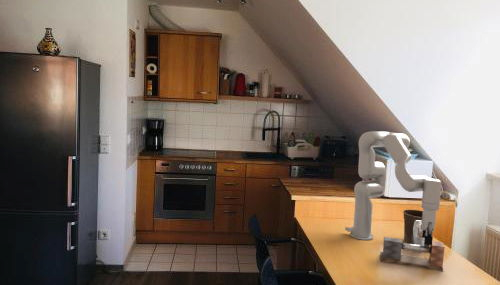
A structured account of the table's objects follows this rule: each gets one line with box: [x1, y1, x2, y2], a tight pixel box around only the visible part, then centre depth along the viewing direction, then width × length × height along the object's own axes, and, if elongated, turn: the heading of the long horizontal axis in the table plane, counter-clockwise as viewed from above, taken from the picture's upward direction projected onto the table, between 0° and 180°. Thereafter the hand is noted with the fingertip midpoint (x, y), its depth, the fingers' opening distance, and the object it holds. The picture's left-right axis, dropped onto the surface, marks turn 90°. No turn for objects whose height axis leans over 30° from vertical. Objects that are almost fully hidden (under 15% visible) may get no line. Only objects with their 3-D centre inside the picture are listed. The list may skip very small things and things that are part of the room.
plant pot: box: [402, 209, 423, 244], centre depth 222 cm, size 16×16×16 cm
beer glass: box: [413, 220, 425, 253], centre depth 209 cm, size 7×7×15 cm
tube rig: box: [379, 236, 445, 272], centre depth 192 cm, size 27×10×11 cm, turn 72°
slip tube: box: [402, 233, 432, 254], centre depth 191 cm, size 19×3×9 cm, turn 72°
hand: (426, 241), depth 190 cm, fingers open, 9 cm apart
